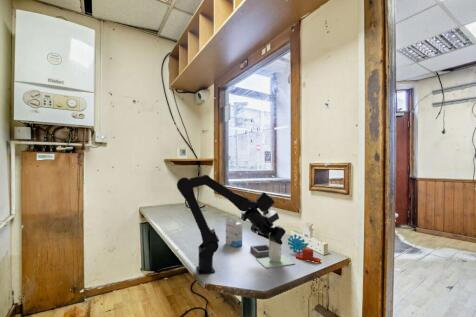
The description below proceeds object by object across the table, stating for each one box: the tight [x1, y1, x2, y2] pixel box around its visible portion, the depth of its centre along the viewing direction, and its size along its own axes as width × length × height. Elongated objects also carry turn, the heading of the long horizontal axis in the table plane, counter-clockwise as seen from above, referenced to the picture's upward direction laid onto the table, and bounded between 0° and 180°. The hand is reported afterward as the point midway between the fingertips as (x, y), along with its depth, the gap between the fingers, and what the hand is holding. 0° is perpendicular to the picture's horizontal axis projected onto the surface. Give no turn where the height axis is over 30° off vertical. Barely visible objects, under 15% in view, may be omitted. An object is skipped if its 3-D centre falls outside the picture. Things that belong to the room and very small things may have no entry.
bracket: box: [294, 247, 322, 262], centre depth 107 cm, size 12×4×5 cm, turn 56°
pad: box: [255, 254, 296, 269], centre depth 104 cm, size 10×14×1 cm
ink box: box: [225, 216, 243, 248], centre depth 127 cm, size 9×5×15 cm, turn 45°
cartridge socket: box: [249, 244, 269, 259], centre depth 114 cm, size 9×9×2 cm
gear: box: [287, 234, 309, 254], centre depth 118 cm, size 11×6×10 cm
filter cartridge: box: [268, 224, 282, 261], centre depth 104 cm, size 6×6×14 cm
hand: (277, 242), depth 105 cm, fingers closed on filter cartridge, 5 cm apart
